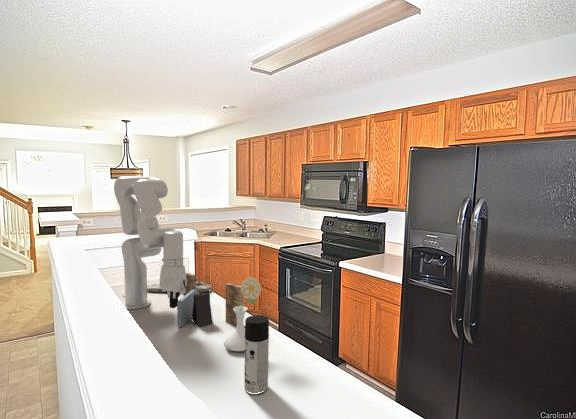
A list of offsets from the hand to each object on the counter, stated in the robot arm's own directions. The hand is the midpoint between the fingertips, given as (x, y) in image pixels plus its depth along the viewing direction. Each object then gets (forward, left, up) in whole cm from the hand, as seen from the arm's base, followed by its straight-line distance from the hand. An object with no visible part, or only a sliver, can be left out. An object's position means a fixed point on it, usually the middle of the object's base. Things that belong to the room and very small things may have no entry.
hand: (173, 306), depth 138 cm
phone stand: (+6, +9, -8) cm, 14 cm away
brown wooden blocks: (+4, +16, -8) cm, 18 cm away
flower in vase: (+34, +3, -8) cm, 35 cm away
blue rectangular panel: (-1, +8, -7) cm, 11 cm away
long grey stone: (-36, +29, -8) cm, 47 cm away
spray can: (+54, -13, -8) cm, 57 cm away
